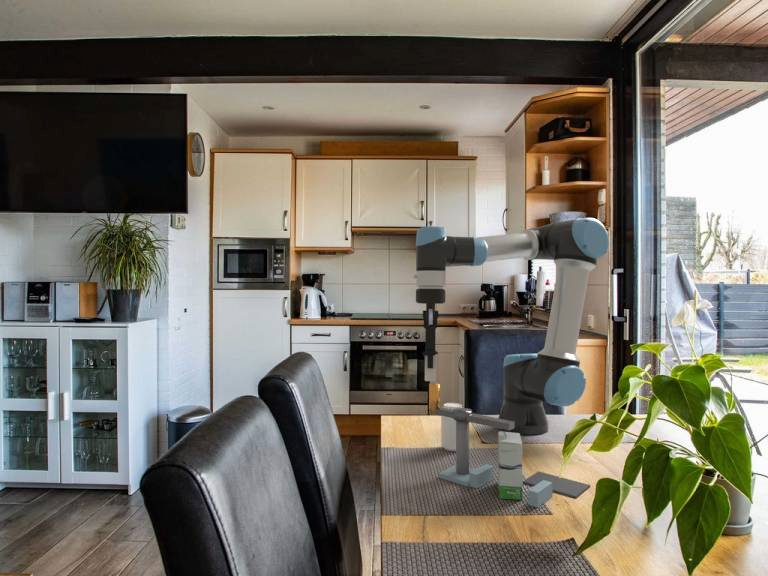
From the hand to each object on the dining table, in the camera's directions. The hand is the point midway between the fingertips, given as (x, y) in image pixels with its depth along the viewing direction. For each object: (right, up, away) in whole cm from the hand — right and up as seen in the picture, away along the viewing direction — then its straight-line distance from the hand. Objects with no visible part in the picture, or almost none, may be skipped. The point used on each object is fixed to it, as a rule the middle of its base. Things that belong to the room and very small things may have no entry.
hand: (430, 380), depth 126 cm
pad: (+27, -20, -16) cm, 37 cm away
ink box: (+15, -21, -19) cm, 32 cm away
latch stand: (+12, -20, -17) cm, 29 cm away
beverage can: (+7, -20, +9) cm, 23 cm away
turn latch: (+8, -7, -12) cm, 16 cm away
